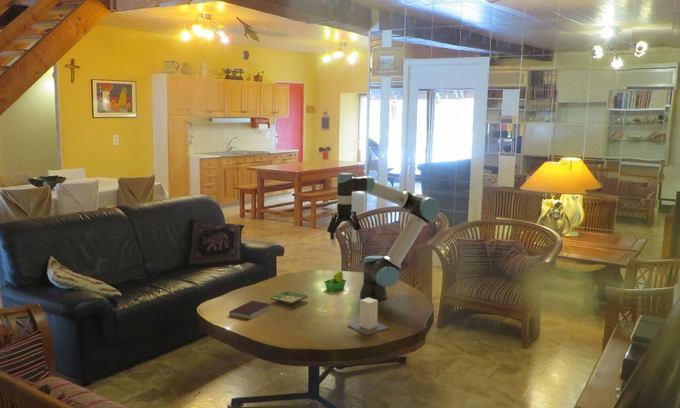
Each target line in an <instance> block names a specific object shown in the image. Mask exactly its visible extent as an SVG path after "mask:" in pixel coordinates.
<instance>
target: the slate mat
mask: <svg viewBox="0 0 680 408" xmlns="http://www.w3.org/2000/svg"><path fill="white" fill-rule="evenodd" d="M347 327H349V328H351V329H352V330H354V331H356V332H359V333H361V334H363V335H366V336H369V335H372V334H375V333H379V332H383V331H386V330H389V329H390V327H389V326H386V325H385V324H382V323H380V322H378V321H377V327H374V328H372V329H366V328H363V327H360V321H358V322H354V323H351V324H348V325H347Z"/></svg>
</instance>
